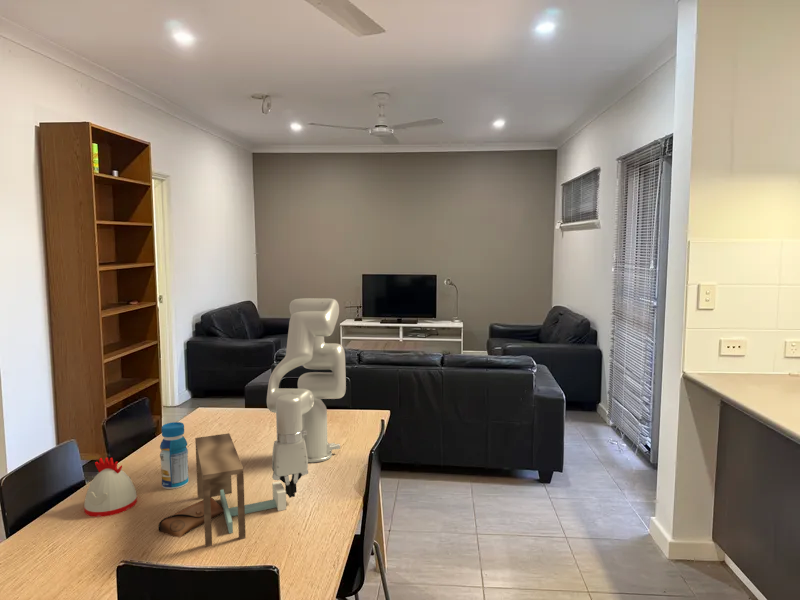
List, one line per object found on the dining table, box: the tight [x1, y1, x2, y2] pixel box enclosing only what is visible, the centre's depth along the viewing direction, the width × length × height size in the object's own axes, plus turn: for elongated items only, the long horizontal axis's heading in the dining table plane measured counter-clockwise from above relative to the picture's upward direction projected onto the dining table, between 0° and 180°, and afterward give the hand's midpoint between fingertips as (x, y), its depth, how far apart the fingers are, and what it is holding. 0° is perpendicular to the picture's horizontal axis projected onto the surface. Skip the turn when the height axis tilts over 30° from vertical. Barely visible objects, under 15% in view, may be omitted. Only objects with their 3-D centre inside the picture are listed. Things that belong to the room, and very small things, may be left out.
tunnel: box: [194, 432, 247, 548], centre depth 152 cm, size 10×30×19 cm, turn 24°
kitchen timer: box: [83, 457, 138, 518], centre depth 159 cm, size 14×14×15 cm
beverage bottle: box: [159, 421, 190, 490], centre depth 173 cm, size 8×8×20 cm
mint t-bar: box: [219, 480, 287, 534], centre depth 156 cm, size 17×22×5 cm
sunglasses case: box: [158, 496, 224, 539], centre depth 150 cm, size 18×7×7 cm
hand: (291, 495), depth 161 cm, fingers closed
